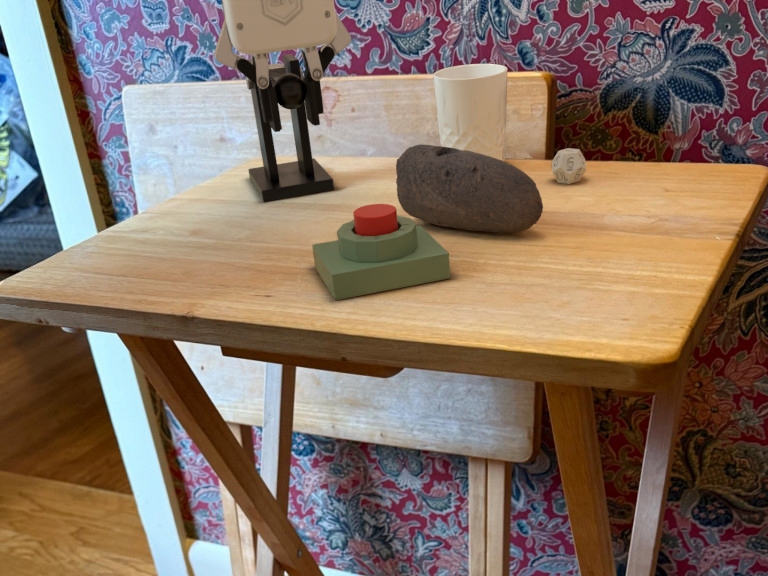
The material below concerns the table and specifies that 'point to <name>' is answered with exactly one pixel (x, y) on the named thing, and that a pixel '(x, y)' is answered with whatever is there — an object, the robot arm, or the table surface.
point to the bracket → (306, 171)
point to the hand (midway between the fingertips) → (294, 124)
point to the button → (375, 220)
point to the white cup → (472, 108)
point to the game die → (568, 166)
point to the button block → (380, 260)
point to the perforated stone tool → (466, 190)
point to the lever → (287, 87)
